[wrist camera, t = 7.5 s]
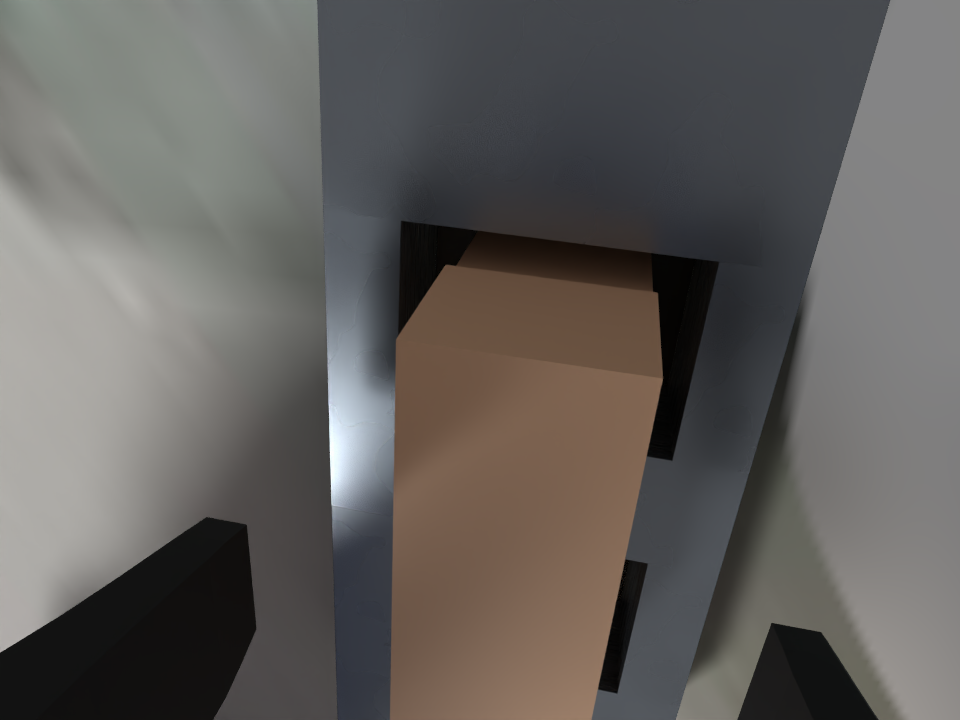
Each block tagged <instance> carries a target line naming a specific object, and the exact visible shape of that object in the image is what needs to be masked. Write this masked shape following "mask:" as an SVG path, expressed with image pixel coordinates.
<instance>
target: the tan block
mask: <svg viewBox="0 0 960 720" xmlns="http://www.w3.org/2000/svg"><path fill="white" fill-rule="evenodd" d="M662 381H663V370H662V354H661V337H660V321H659V304H658V293H656V292H653V281H652V259H651V253H647V252H640V251H632V250H624V249H617V248H609V247H601V246H593V245H586V244H578V243H570V242H562V241H555V240H547V239H539V238H532V237H524V236H516V235H508V234H501V233H493V232H485V231H478V232H477V233H476V235H475V236H474V238H473V240H472V241H471V243H470V244H469V246H468V248H467V249H466V251H465V252H464V254H463V256H462V257H461V259H460V260H459V262H458V264H457V265H456V266H452V265H445V266H444V268H443V269H442V271H441V272H440V274H439V275H438V277H437V278H436V280H435V281H434V283H433V284H432V286H431V287H430V289H429V290H428V292H427V293H426V295H425V296H424V298H423V299H422V301H421V302H420V304H419V305H418V307H417V308H416V310H415V311H414V313H413V314H412V316H411V318H410V319H409V321H408V322H407V324H406V325H405V327H404V328H403V330H402V331H401V333H400V334H399V336H398V337H397V339H396V372H395V435H394V498H393V561H392V624H391V687H390V720H591V719H592V714H593V710H594V705H595V700H596V695H597V691H598V686H599V681H600V676H601V672H602V667H603V662H604V657H605V653H606V648H607V643H608V638H609V633H610V629H611V624H612V619H613V614H614V610H615V605H616V600H617V595H618V591H619V586H620V581H621V576H622V572H623V567H624V562H625V557H626V552H627V548H628V543H629V538H630V533H631V529H632V524H633V519H634V514H635V510H636V505H637V500H638V495H639V491H640V486H641V481H642V476H643V471H644V467H645V462H646V457H647V452H648V448H649V443H650V438H651V433H652V429H653V424H654V419H655V414H656V409H657V405H658V400H659V395H660V390H661V386H662Z"/></svg>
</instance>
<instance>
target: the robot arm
mask: <svg viewBox="0 0 960 720" xmlns="http://www.w3.org/2000/svg"><path fill="white" fill-rule="evenodd" d="M255 631H256V619H255V608H254V598H253V587H252V576H251V565H250V555H249V544H248V533H247V525H246V524H240V523H235V522H230V521H224V520H219V519H214V518H208V517H206V518H205V519H203V520H202V521H200V522H199V523H197V524H196V525H194V526H193V527H191V528H190V529H188V530H187V531H185V532H184V533H182V534H181V535H179V536H178V537H176V538H175V539H173V540H172V541H171V542H169V543H168V544H166V545H165V546H163V547H162V548H160V549H159V550H158V551H156V552H155V553H153V554H152V555H150V556H149V557H147V558H146V559H144V560H143V561H141V562H140V563H139V564H137V565H136V566H134V567H133V568H131V569H130V570H128V571H127V572H125V573H124V574H122V575H121V576H120V577H118V578H117V579H115V580H114V581H112V582H111V583H109V584H108V585H106V586H105V587H103V588H102V589H100V590H99V591H97V592H96V593H94V594H93V595H91V596H90V597H88V598H87V599H85V600H84V601H82V602H81V603H79V604H78V605H76V606H75V607H73V608H72V609H70V610H69V611H67V612H66V613H64V614H62V615H61V616H59V617H58V618H56V619H54V620H53V621H51V622H50V623H48V624H46V625H45V626H43V627H41V628H40V629H38V630H37V631H35V632H33V633H32V634H30V635H28V636H27V637H25V638H23V639H22V640H20V641H19V642H17V643H15V644H14V645H12V646H10V647H9V648H7V649H6V650H4V651H2V652H1V653H0V720H213V719H214V717H215V715H216V714H217V712H218V710H219V708H220V707H221V705H222V703H223V701H224V700H225V698H226V696H227V694H228V692H229V689H230V687H231V685H232V683H233V681H234V679H235V676H236V674H237V672H238V670H239V668H240V666H241V663H242V661H243V659H244V656H245V654H246V652H247V649H248V647H249V645H250V642H251V640H252V638H253V636H254V633H255ZM738 720H878V718H877V717H876V715H875V714H874V712H873V711H872V709H871V708H870V706H869V705H868V703H867V702H866V700H865V699H864V697H863V696H862V694H861V693H860V691H859V689H858V688H857V686H856V685H855V683H854V682H853V680H852V679H851V677H850V675H849V674H848V672H847V671H846V669H845V668H844V666H843V665H842V663H841V661H840V660H839V658H838V657H837V655H836V654H835V652H834V651H833V649H832V648H831V646H830V645H829V643H828V641H827V640H826V639H825V637H824V636H823V634H822V633H821V632H817V631H812V630H806V629H801V628H796V627H790V626H785V625H780V624H774V623H771V626H770V629H769V632H768V635H767V638H766V640H765V643H764V646H763V649H762V652H761V655H760V657H759V660H758V663H757V666H756V669H755V672H754V674H753V677H752V680H751V683H750V686H749V688H748V691H747V694H746V697H745V700H744V703H743V705H742V708H741V711H740V714H739V717H738Z"/></svg>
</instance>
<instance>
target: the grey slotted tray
mask: <svg viewBox="0 0 960 720" xmlns="http://www.w3.org/2000/svg"><path fill="white" fill-rule="evenodd" d="M889 2H890V0H317V4H318V40H319V75H320V111H321V146H322V182H323V217H324V253H325V288H326V324H327V359H328V395H329V430H330V465H331V501H332V536H333V572H334V607H335V643H336V678H337V714H338V720H390V687H391V624H392V561H393V498H394V435H395V372H396V339H397V337H398V336H399V334H400V333H401V331H402V330H403V328H404V327H405V325H406V324H407V322H408V321H409V319H410V318H411V316H412V314H413V313H414V311H415V310H416V308H417V307H418V305H419V304H420V302H421V301H422V299H423V298H424V296H425V295H426V293H427V292H428V290H429V289H430V287H431V286H432V284H433V283H434V281H435V279H436V258H437V236H438V225H439V226H447V227H454V228H462V229H470V230H477V231H485V232H493V233H501V234H508V235H516V236H524V237H532V238H539V239H547V240H555V241H562V242H570V243H578V244H586V245H593V246H601V247H609V248H617V249H624V250H632V251H640V252H647V253H655V254H663V255H671V256H678V257H686V258H694V259H695V262H694V266H693V271H692V275H691V280H690V284H689V289H688V294H687V298H686V303H685V307H684V312H683V316H682V321H681V325H680V330H679V335H678V339H677V344H676V348H675V353H674V357H673V362H672V367H671V371H670V376H669V380H668V385H667V386H664V385H662V386H661V390H660V395H659V400H658V405H657V409H656V414H655V419H654V424H653V429H652V433H651V438H650V443H649V448H648V452H647V457H646V462H645V467H644V471H643V476H642V481H641V486H640V491H639V495H638V500H637V505H636V510H635V514H634V519H633V524H632V529H631V533H630V538H629V543H628V548H627V552H626V557H625V559H626V560H629V563H628V567H627V572H626V576H625V581H624V585H623V590H622V594H621V599H620V600H616V605H615V610H614V614H613V619H612V624H611V629H610V633H609V638H608V643H607V648H606V653H605V657H604V662H603V667H602V672H601V676H600V681H599V686H598V691H597V695H596V700H595V705H594V710H593V714H592V719H591V720H676V717H677V713H678V710H679V707H680V703H681V700H682V697H683V693H684V690H685V687H686V683H687V680H688V677H689V673H690V670H691V666H692V663H693V660H694V656H695V653H696V650H697V646H698V643H699V640H700V636H701V633H702V630H703V626H704V623H705V620H706V616H707V613H708V609H709V606H710V603H711V599H712V596H713V593H714V589H715V586H716V583H717V579H718V576H719V573H720V569H721V566H722V562H723V559H724V556H725V552H726V549H727V546H728V542H729V539H730V536H731V532H732V529H733V526H734V522H735V519H736V516H737V512H738V509H739V505H740V502H741V499H742V495H743V492H744V489H745V485H746V482H747V479H748V475H749V472H750V469H751V465H752V462H753V459H754V455H755V452H756V448H757V445H758V442H759V438H760V435H761V432H762V428H763V425H764V422H765V418H766V415H767V412H768V408H769V405H770V402H771V398H772V395H773V391H774V388H775V385H776V381H777V378H778V375H779V371H780V368H781V365H782V361H783V358H784V355H785V351H786V348H787V345H788V341H789V338H790V334H791V331H792V328H793V324H794V321H795V318H796V314H797V311H798V308H799V304H800V301H801V298H802V294H803V291H804V288H805V284H806V281H807V277H808V274H809V271H810V267H811V264H812V261H813V257H814V254H815V251H816V247H817V244H818V241H819V237H820V234H821V230H822V227H823V223H824V220H825V217H826V214H827V210H828V207H829V203H830V200H831V197H832V193H833V190H834V187H835V184H836V180H837V177H838V173H839V170H840V167H841V163H842V160H843V157H844V153H845V150H846V147H847V143H848V140H849V137H850V133H851V130H852V127H853V123H854V120H855V116H856V113H857V110H858V106H859V103H860V100H861V96H862V93H863V90H864V86H865V83H866V80H867V76H868V73H869V70H870V66H871V63H872V59H873V56H874V53H875V49H876V46H877V43H878V39H879V36H880V33H881V29H882V26H883V23H884V19H885V16H886V13H887V9H888V6H889Z"/></svg>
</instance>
